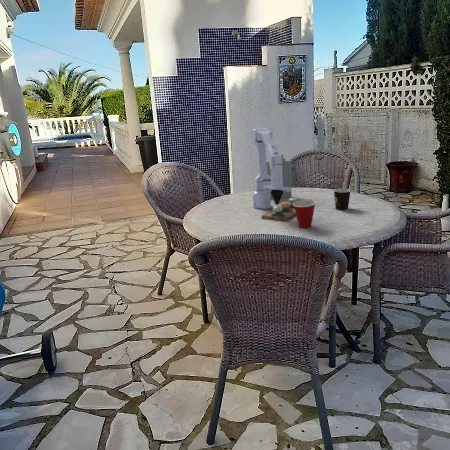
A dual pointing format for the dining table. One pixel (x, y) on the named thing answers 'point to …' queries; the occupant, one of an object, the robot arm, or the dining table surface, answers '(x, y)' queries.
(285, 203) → the terracotta button
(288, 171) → the grey upright box
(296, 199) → the slate button
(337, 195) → the coffee mug
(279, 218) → the button board
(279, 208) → the sage button
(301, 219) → the plastic cup
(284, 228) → the dining table surface
